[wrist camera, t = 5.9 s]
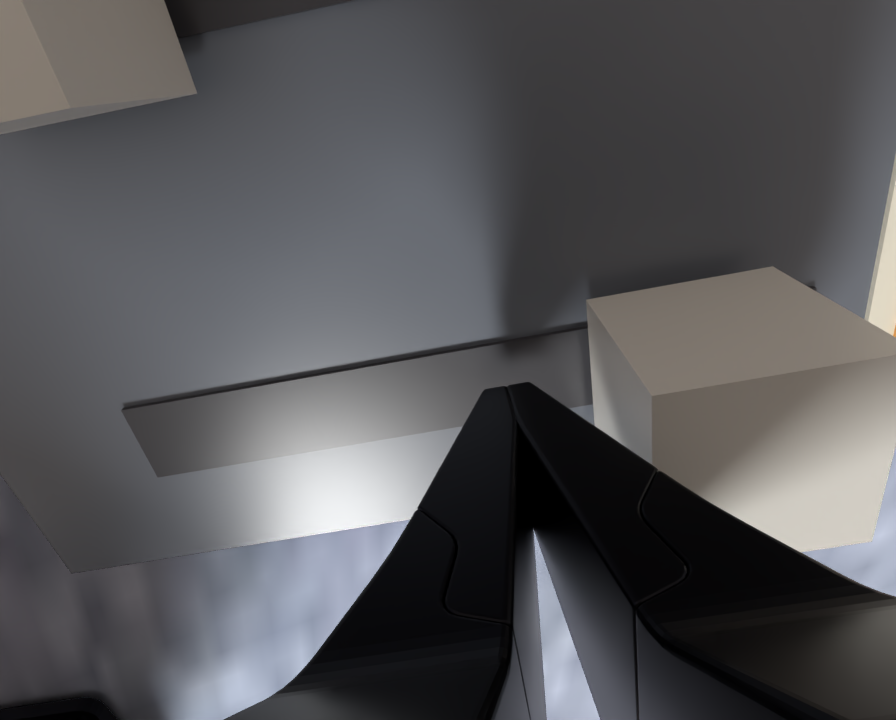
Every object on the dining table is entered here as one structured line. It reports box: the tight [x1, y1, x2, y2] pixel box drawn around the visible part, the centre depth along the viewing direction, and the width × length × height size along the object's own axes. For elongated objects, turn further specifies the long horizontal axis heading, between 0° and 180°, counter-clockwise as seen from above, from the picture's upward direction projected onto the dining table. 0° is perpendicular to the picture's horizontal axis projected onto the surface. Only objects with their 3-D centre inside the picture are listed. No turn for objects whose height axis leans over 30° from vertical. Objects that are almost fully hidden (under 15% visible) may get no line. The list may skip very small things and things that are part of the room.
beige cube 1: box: [586, 266, 896, 552], centre depth 8 cm, size 3×3×3 cm
